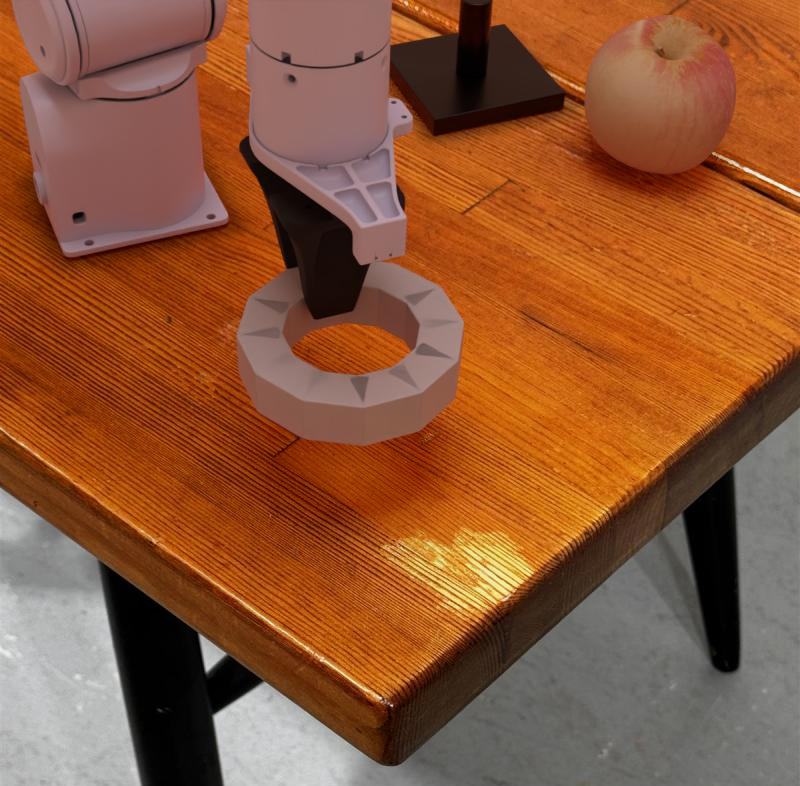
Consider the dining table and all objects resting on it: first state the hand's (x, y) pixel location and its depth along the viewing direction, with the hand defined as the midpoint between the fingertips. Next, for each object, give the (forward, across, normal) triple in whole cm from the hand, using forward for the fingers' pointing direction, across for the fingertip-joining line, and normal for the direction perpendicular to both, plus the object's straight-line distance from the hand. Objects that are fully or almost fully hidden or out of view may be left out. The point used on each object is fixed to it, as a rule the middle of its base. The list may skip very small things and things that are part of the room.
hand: (321, 293), depth 69 cm
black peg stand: (+7, +24, -19) cm, 31 cm away
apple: (+7, +13, -26) cm, 30 cm away
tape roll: (+1, -4, 0) cm, 4 cm away
